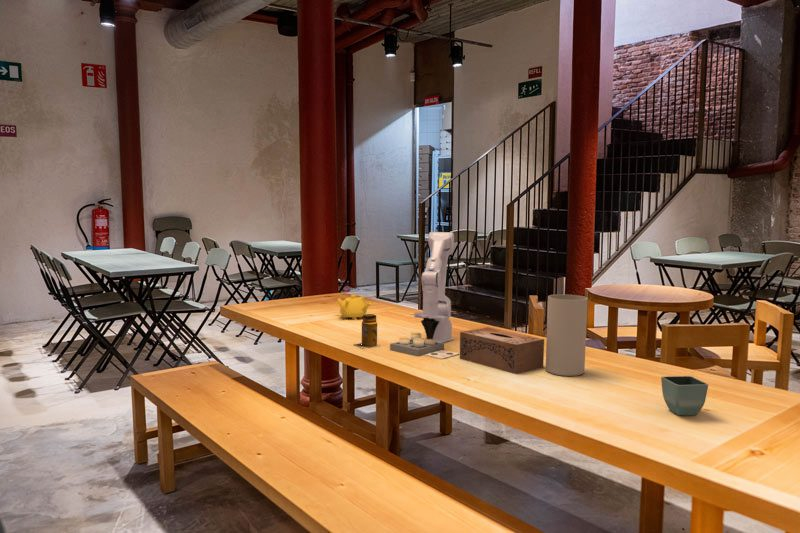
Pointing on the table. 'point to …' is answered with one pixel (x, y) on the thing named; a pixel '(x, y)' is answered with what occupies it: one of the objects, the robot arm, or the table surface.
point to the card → (442, 354)
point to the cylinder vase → (566, 334)
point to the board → (416, 351)
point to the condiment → (369, 331)
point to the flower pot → (684, 394)
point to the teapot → (353, 307)
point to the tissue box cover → (502, 349)
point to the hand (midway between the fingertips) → (429, 338)
